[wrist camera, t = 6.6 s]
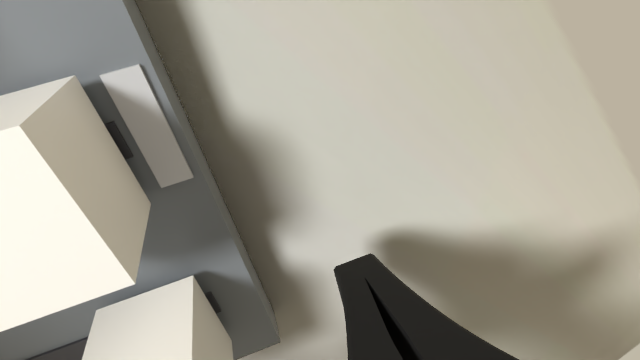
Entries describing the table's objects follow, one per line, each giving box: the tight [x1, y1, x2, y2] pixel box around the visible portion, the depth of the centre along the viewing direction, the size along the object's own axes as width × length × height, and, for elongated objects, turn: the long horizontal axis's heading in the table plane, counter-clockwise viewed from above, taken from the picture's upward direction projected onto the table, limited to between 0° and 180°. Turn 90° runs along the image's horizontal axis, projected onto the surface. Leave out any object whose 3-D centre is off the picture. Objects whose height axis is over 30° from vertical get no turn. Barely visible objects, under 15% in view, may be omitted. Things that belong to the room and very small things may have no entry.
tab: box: [0, 75, 151, 332], centre depth 7 cm, size 4×3×3 cm
